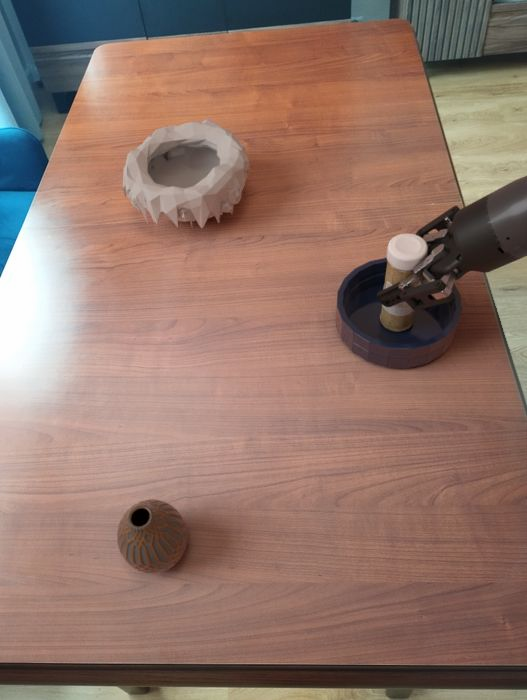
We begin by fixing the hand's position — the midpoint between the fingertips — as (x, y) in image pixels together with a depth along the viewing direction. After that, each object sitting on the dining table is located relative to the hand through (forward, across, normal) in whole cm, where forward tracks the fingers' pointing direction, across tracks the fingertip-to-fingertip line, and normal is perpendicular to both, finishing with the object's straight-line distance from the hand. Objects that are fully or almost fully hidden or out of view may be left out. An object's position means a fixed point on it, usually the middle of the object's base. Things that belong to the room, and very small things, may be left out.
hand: (386, 282), depth 73 cm
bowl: (+30, -17, -19) cm, 39 cm away
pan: (+4, 0, +6) cm, 7 cm away
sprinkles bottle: (+3, 0, +6) cm, 7 cm away
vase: (+17, +37, -6) cm, 41 cm away
